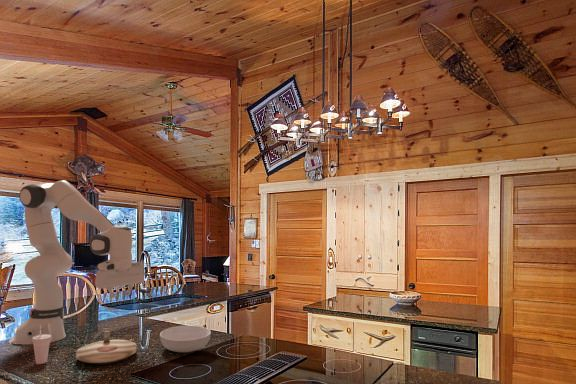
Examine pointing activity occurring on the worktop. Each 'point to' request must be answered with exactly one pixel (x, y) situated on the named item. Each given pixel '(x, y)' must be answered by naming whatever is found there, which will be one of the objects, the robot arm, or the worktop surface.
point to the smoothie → (41, 347)
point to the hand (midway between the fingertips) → (120, 296)
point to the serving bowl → (185, 338)
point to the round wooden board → (106, 350)
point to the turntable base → (106, 362)
